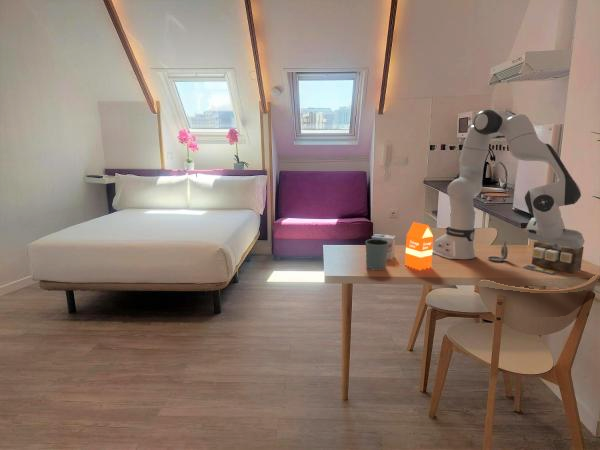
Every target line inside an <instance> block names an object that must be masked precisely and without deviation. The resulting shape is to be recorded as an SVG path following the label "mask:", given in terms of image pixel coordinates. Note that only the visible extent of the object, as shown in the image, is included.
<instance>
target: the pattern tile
mask: <svg viewBox="0 0 600 450" xmlns="http://www.w3.org/2000/svg"><path fill="white" fill-rule="evenodd" d="M522 268H523V269H526V270H530V271H535V272H540V273H543V274H547V275H550V276H551V275H554V274H556V273H557V272H558V271H556V270H554V269H550V268H549V269H548V268H545V267H541V266H540V267H539V266H537V265H536V266H535V265H532V264H527V265H524V266H523V267H522Z"/></svg>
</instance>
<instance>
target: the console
mask: <svg viewBox="0 0 600 450" xmlns="http://www.w3.org/2000/svg"><path fill="white" fill-rule="evenodd" d="M538 246H540V247H545V248H548V249H547V250H549V249H556V250H560V256H561V252H563V251H566V252H571V253H574V255H573V262H571V263H567V262H562V261H560V257H559V260H556V261H550V260H545V258H542V259H540V258H536V257H531V258H532V259H531V265H533V266H535V265H536V266H538V267H539V266H540V267H542V268H547V269H548V268H549V269H551V270H559V271H562V272H567V273H571V274H575V273H576V272H578V271H580V270H581V269H582V268H581V267H582V262H583V254H584V249H585V248H584V246H582V247H581V248H574V247H569V246H563V245H562V247H561V249H557V248H553V247H552V245H550V244H549V243H548V242H542V241H537V240H535V241H534V243H533V248H535V247H538Z"/></svg>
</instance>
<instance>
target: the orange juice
mask: <svg viewBox="0 0 600 450" xmlns="http://www.w3.org/2000/svg"><path fill="white" fill-rule="evenodd" d="M433 245H434V235H433V233H432V230H431V228H430V225H427V224H424V223H420V222H415V221H413V222H412V224H411V226H410V228H409V230H408V232H407V233H406V244H405V259H404V261H405V263H404V265H407V266H406V267H408V266H409V267H408V268H411V267H412V268H411V269H414V268H415V269H414V270H417V269H418V271H422V270H421V269H424V270H427V269H426V268H428V269H431V268H432V261H433V260H432V259H433V253H432V250H433V249H432V248H433ZM430 267H431V268H430Z"/></svg>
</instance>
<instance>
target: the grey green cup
mask: <svg viewBox="0 0 600 450" xmlns="http://www.w3.org/2000/svg"><path fill="white" fill-rule="evenodd" d="M387 250H388V241H386V240H381V239H372V238H371V239H370V238H369V239H367V240H365V253H366V255H365V257H366V258H365V260H366V261H365V263H366V264H365V266H366V268H367V269H368V268H369V270H371V269H374V270H373V271H380V270H379V269H383V270H385V269H386V265H387V259H386V258H387ZM384 268H385V269H384Z"/></svg>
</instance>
